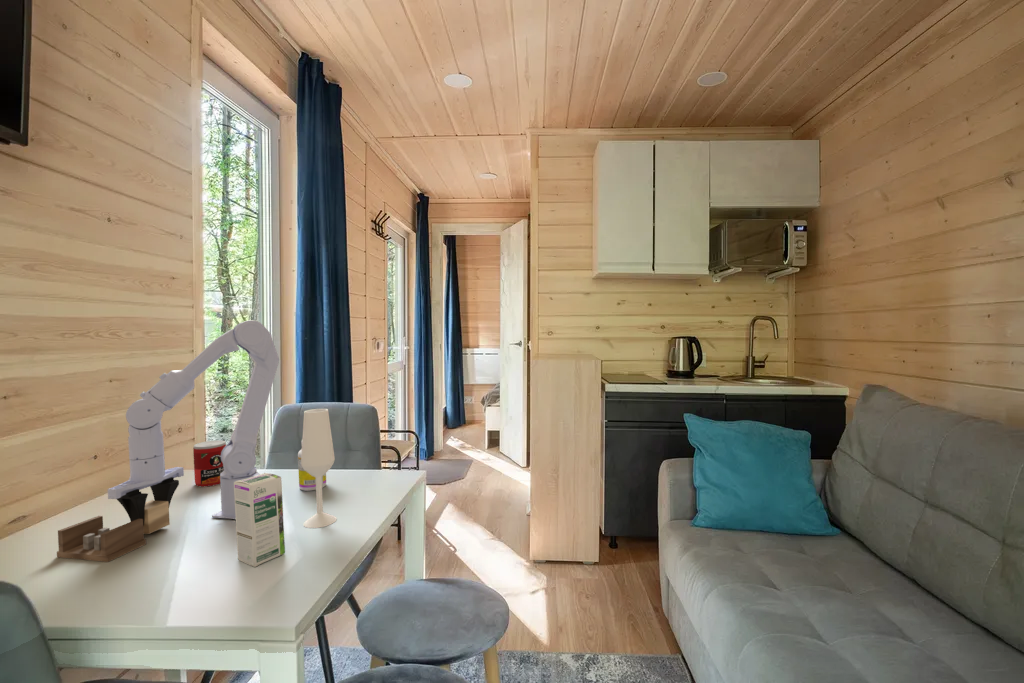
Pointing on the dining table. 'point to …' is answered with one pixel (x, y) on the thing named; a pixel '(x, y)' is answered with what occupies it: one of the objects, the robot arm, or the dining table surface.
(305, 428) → the champagne flute
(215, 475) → the canned food
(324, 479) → the supplement bottle
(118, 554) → the stand
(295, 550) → the dining table surface
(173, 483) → the robot arm
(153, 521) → the light wooden block
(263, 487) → the syrup box
